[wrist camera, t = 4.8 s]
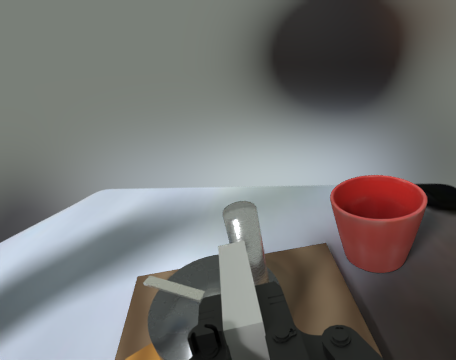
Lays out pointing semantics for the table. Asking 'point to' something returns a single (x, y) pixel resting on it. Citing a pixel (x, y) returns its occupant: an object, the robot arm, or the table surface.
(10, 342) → the table surface
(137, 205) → the table surface
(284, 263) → the walnut base board
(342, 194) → the flower pot
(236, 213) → the wheel
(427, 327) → the table surface
